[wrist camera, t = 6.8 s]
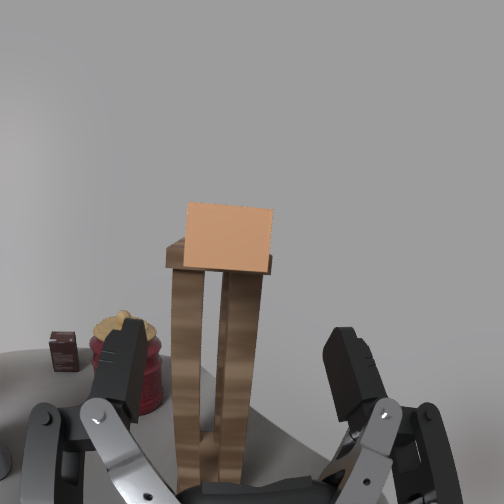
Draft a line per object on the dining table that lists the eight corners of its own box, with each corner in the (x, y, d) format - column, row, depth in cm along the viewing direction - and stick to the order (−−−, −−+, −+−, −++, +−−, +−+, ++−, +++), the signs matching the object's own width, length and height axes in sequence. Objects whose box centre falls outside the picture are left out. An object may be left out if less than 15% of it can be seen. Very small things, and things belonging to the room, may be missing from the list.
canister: (110, 424, 36) (96, 328, 35) (90, 385, 46) (80, 302, 44) (176, 407, 45) (175, 319, 44) (146, 375, 55) (143, 297, 53)
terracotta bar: (267, 272, 14) (273, 209, 14) (183, 266, 13) (188, 201, 13) (233, 242, 34) (236, 216, 33) (199, 239, 33) (201, 213, 33)
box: (79, 359, 54) (75, 331, 54) (79, 372, 49) (74, 342, 48) (55, 359, 51) (51, 330, 50) (53, 372, 46) (48, 341, 45)
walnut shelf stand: (242, 503, 25) (272, 255, 22) (177, 502, 24) (166, 247, 21) (231, 438, 39) (248, 242, 36) (181, 436, 37) (183, 237, 35)
